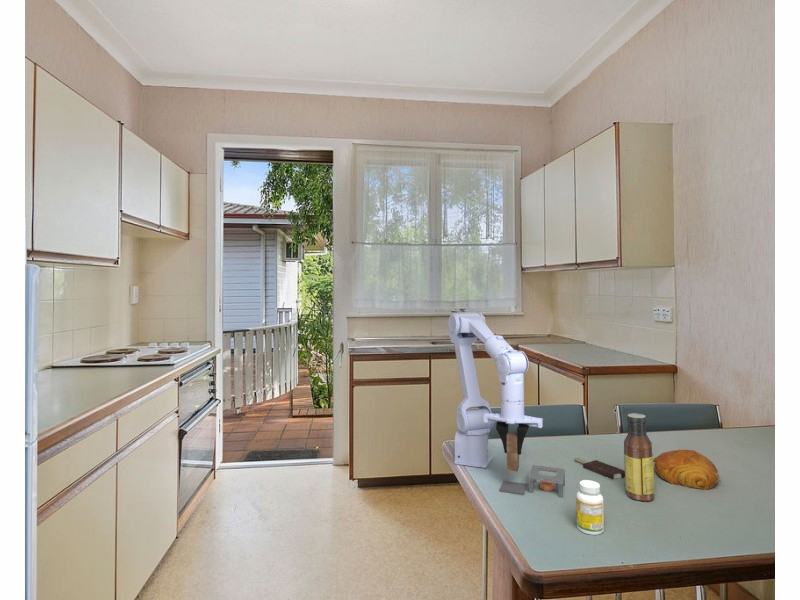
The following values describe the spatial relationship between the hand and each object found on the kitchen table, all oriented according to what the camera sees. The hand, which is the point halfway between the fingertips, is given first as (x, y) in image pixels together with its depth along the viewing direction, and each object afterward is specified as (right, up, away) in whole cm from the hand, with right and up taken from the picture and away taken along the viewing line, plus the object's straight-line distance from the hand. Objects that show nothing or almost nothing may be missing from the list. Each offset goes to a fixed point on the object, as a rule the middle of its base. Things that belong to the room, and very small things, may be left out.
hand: (512, 452), depth 116 cm
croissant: (+47, -9, +5) cm, 48 cm away
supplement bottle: (+11, -10, -20) cm, 25 cm away
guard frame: (+9, -9, 0) cm, 13 cm away
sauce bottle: (+29, -9, -5) cm, 31 cm away
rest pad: (0, -9, 0) cm, 9 cm away
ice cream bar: (+27, -9, +12) cm, 30 cm away
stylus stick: (0, -4, 0) cm, 4 cm away
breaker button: (+9, -10, 0) cm, 13 cm away
